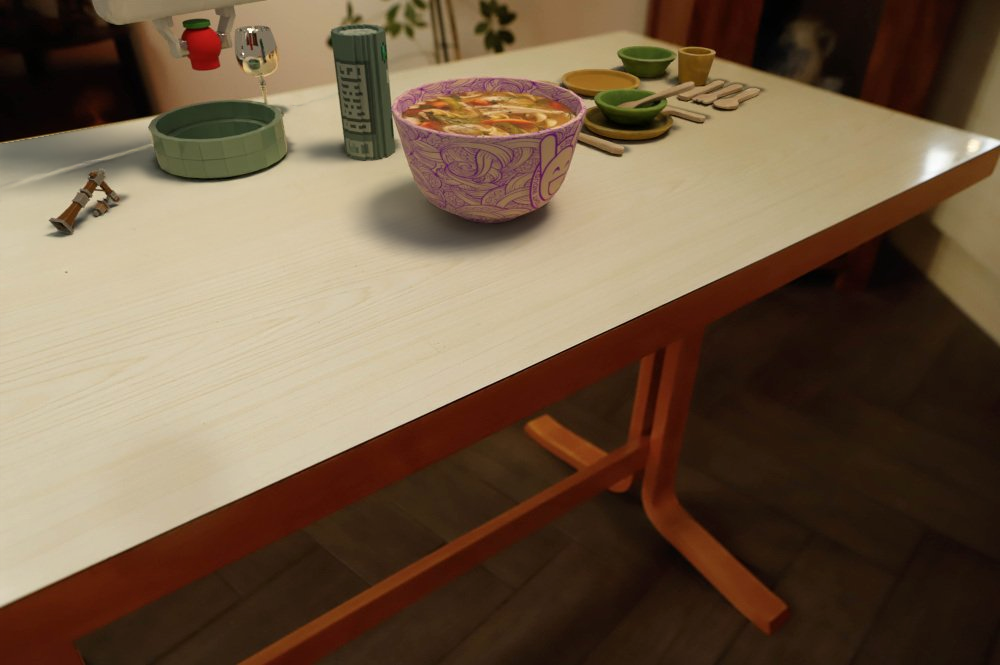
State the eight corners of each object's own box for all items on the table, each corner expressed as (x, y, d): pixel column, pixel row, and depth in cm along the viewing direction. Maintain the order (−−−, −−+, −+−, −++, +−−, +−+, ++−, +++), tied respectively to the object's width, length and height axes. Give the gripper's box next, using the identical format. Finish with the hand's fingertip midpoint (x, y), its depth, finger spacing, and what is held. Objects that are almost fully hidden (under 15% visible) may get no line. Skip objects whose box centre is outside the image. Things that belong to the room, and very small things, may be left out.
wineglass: (294, 117, 105) (280, 30, 98) (255, 125, 102) (238, 36, 96) (280, 107, 109) (265, 23, 102) (242, 114, 106) (225, 28, 100)
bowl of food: (600, 241, 74) (611, 131, 67) (404, 256, 71) (395, 143, 65) (556, 167, 90) (561, 72, 83) (395, 177, 87) (387, 80, 81)
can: (402, 146, 96) (392, 26, 87) (379, 162, 91) (366, 37, 83) (362, 140, 98) (349, 22, 89) (337, 155, 93) (321, 33, 84)
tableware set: (615, 161, 92) (620, 112, 88) (466, 111, 108) (465, 68, 104) (772, 93, 116) (781, 52, 112) (631, 61, 132) (635, 24, 128)
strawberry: (179, 67, 86) (168, 21, 83) (213, 60, 88) (203, 15, 86) (198, 74, 83) (187, 27, 80) (232, 66, 86) (223, 20, 83)
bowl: (137, 159, 92) (125, 120, 89) (245, 128, 101) (238, 92, 99) (200, 193, 83) (190, 151, 80) (312, 156, 93) (306, 117, 90)
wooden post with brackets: (129, 194, 81) (105, 164, 77) (87, 249, 77) (60, 221, 73) (116, 191, 81) (91, 162, 77) (74, 246, 77) (46, 218, 74)
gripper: (241, -91, 85) (263, 32, 93) (62, -78, 73) (105, 64, 81) (272, -88, 82) (292, 40, 90) (89, -73, 69) (131, 75, 77)
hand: (202, 52), depth 85 cm, fingers closed on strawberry, 4 cm apart
